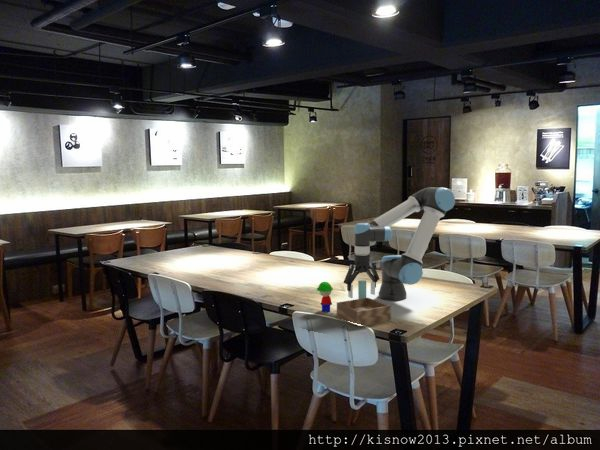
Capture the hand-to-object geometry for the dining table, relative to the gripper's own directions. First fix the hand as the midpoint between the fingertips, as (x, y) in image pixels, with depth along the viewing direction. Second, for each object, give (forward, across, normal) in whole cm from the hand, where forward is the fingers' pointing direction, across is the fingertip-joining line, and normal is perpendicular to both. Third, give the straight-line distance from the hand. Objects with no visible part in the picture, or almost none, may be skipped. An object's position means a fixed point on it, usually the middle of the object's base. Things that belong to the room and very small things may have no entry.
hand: (361, 295), depth 249 cm
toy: (+7, +18, -5) cm, 20 cm away
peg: (+7, 0, 0) cm, 7 cm away
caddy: (+7, +10, +15) cm, 19 cm away
